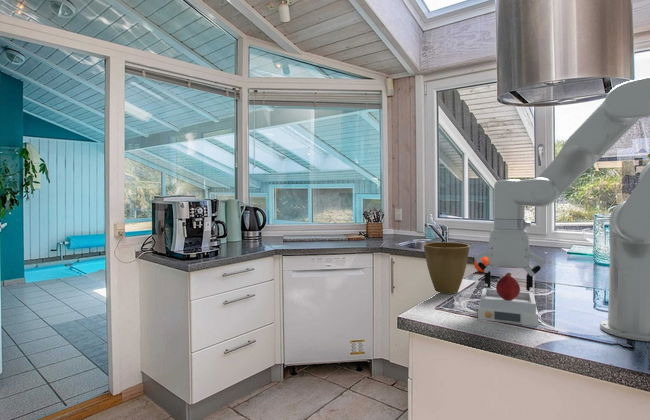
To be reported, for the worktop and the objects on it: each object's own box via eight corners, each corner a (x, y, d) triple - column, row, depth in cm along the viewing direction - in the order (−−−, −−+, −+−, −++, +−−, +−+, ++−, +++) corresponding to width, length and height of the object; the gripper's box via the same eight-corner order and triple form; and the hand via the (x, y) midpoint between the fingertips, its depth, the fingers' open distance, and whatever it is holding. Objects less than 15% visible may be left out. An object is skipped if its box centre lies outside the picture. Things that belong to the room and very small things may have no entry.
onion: (506, 306, 104) (506, 275, 103) (491, 300, 109) (491, 271, 109) (524, 303, 106) (524, 274, 105) (509, 298, 111) (509, 270, 111)
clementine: (482, 270, 173) (482, 253, 172) (496, 272, 167) (496, 255, 167) (470, 271, 168) (470, 255, 168) (484, 274, 163) (485, 257, 162)
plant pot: (434, 284, 145) (434, 240, 145) (475, 290, 136) (475, 244, 135) (415, 291, 134) (416, 244, 133) (459, 299, 124) (459, 248, 124)
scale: (534, 311, 111) (534, 292, 111) (538, 326, 98) (538, 305, 98) (481, 305, 117) (481, 287, 117) (477, 319, 104) (478, 299, 104)
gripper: (544, 225, 106) (543, 288, 107) (475, 223, 114) (475, 282, 114) (546, 227, 100) (545, 294, 100) (473, 225, 107) (473, 288, 107)
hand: (508, 288), depth 107 cm, fingers open, 9 cm apart
